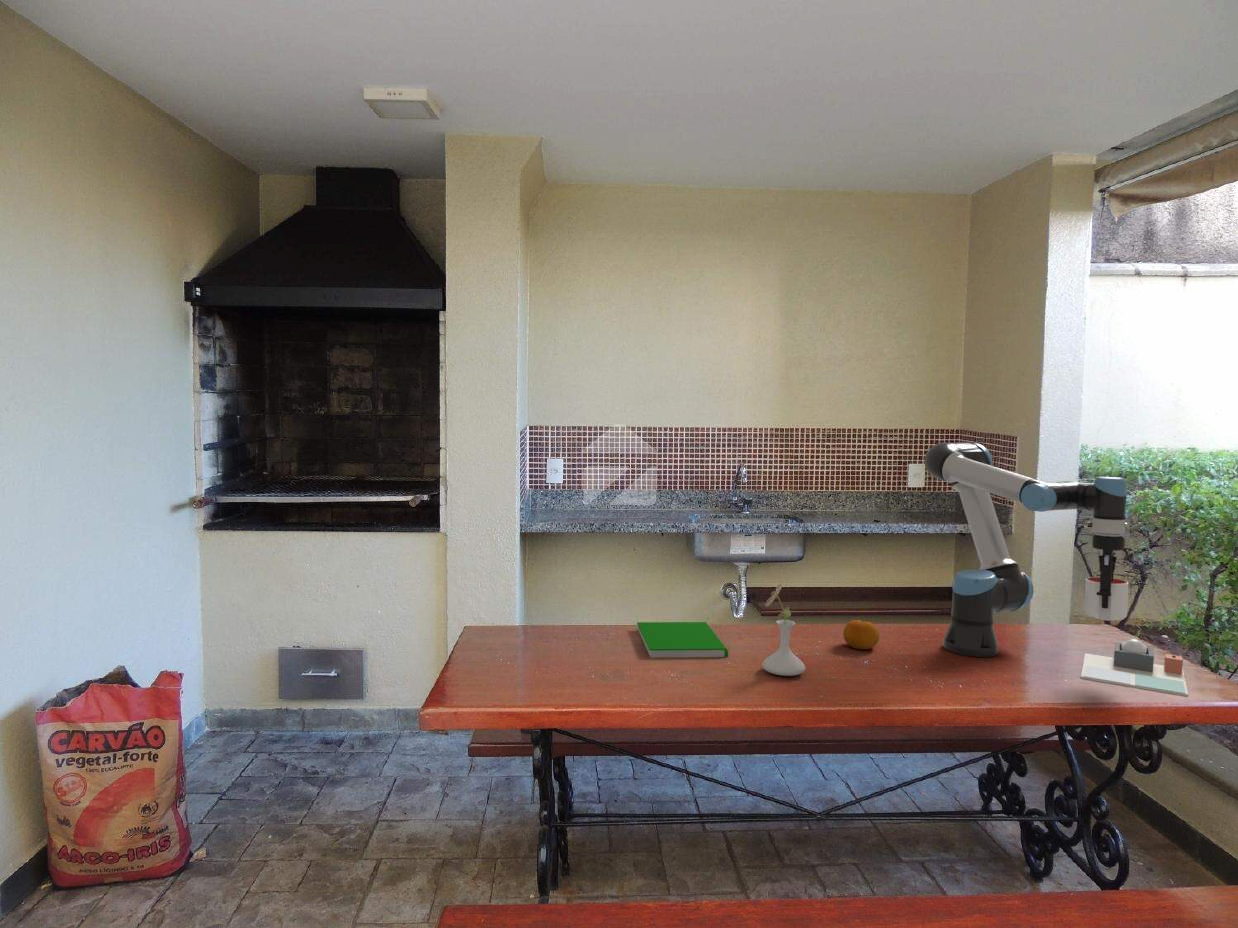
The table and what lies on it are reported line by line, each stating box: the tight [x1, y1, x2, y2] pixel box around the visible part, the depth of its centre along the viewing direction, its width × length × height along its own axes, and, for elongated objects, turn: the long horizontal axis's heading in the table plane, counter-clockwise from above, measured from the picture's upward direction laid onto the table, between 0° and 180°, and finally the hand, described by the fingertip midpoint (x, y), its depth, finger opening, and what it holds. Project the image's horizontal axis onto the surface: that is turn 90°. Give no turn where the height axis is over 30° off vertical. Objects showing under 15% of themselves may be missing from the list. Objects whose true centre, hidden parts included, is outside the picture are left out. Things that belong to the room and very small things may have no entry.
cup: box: [1084, 576, 1129, 621], centre depth 228 cm, size 10×10×10 cm
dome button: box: [1121, 638, 1147, 654], centre depth 239 cm, size 6×6×6 cm
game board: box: [1080, 652, 1189, 697], centre depth 232 cm, size 24×25×5 cm
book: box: [636, 621, 729, 658], centre depth 251 cm, size 22×28×3 cm
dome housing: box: [1113, 642, 1155, 672], centre depth 239 cm, size 9×9×4 cm
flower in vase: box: [761, 581, 806, 677], centre depth 225 cm, size 13×11×25 cm
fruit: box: [842, 619, 880, 650], centre depth 251 cm, size 10×10×8 cm
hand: (1105, 616), depth 228 cm, fingers closed on cup, 10 cm apart
